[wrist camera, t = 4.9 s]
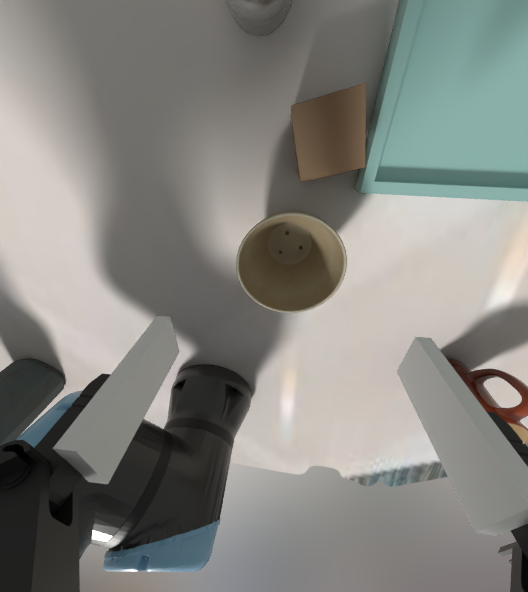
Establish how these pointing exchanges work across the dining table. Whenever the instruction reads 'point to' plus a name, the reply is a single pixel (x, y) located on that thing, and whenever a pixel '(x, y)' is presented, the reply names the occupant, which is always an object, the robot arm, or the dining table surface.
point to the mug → (476, 386)
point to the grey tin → (259, 14)
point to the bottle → (25, 395)
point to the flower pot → (291, 262)
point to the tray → (452, 103)
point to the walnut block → (330, 133)
